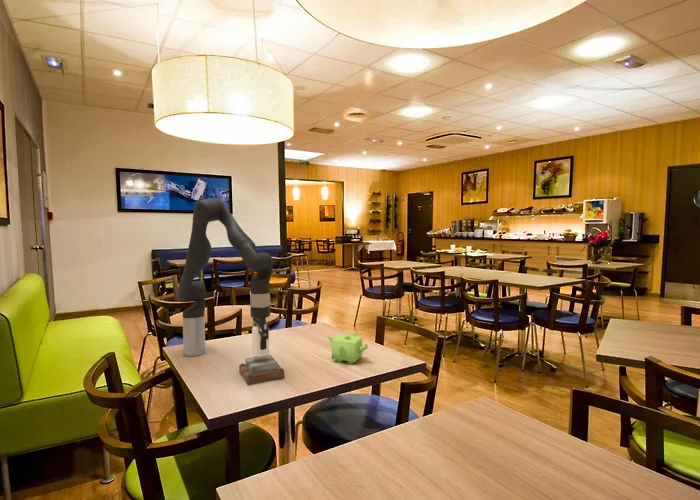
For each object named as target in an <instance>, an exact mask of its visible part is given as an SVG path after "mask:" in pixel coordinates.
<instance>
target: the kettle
mask: <svg viewBox="0 0 700 500" xmlns="http://www.w3.org/2000/svg"><path fill="white" fill-rule="evenodd" d="M356 334H357V333H356V332H353V333H352V334H351V335H350V334H339V335H338V336H336V337H335V338H333V336H331V335H325V336H326V338H328V339H329V342H330V347H331V359H332V360H336V363H341V362H342V361H344V362H347V364H349V365H353V364H354V363H356V362H357V361H358V360H359V359H360V358H362V356H363V352H364V351H366V350H367V349H369V345H368V344H367V343H365V344H363V337H361V336H356Z"/></svg>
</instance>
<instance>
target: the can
mask: <svg viewBox="0 0 700 500" xmlns="http://www.w3.org/2000/svg"><path fill="white" fill-rule="evenodd" d="M258 327H259V329H260V326H258ZM258 327H257V326H256V325H255V324H253V323H252V328H251V349H252V350H251V351H252V352H251V354H252V357H265V356H267V355H270V333H269V334H268V337H269V338H268V339H266V349H264V350H261V349H260V335H259V334H258ZM260 331H261V329H260ZM263 336H265V334H263Z"/></svg>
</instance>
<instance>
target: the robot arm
mask: <svg viewBox="0 0 700 500" xmlns="http://www.w3.org/2000/svg"><path fill="white" fill-rule="evenodd" d="M192 214H193V215H192V224H191V225H192V226H191V233H190V238H189V243H188V247H187V252H186V258H185V263H184V264H185V265H184V269H183V272H182V275H181V278H180V281H179V285H178V289H177V296H178V300H179V301H180V302H181V303H191V302H193V304H192V305H191V306H189V307H187V308H186V309H184V310H183V311H182V340H183V342H182V343H183V345H182V346H183V347H182V348H183V350H182V351H183V355H184V357H197V356H201V355H203V354H205V353H206V328H205V326H206V325H205V322H206V321H205V309H206V284H205V282H203V280H194V279H195V278H196V276H197V275H198V274H199V273H200V272H201V271H202V270H204V268H205V267H206V266H207V265H208V263H209V261H210V258H211V253H212V245H211V242H210V240H209V238H208V236H207V229H208V228H207V227H208V225H209V223H211V222H215V221H218V222H220V223H221V224H222V225H223V226H224V227H225V230H226V235H227V240H228V242H229V244H230V245H231V246H232V248H233V249H235V250H236V251H237V253H238V254H239V255H240V257H241V259H242V261H243V263H244V265H245V266H246V268H247V269H248V270H250V271H251V272H253V273H256V276H255V277H253V278H251V282H250V301H249V302H250V303H249V304H250V307H249V308H250V310H249V311H250V317H251V318H252V320H253V321H252V325H253V324H255V325H256V326H257V327H258V326H260V329H261V331H260V329H259V327H258V334H259V335H260V349H261V350H264V349H266V339H268V338H269V339H270V336H269V337H268V334H269V335H270V327H269V326H270V325H269V323H268V322H267V320H266V318H268V317H271V294H270V290H271V289H270V288H271V287H270V280H271V277H272V272H273V267H274V260H273V257H272V255H271V254H270V253H268V252H256V247H257V246H256V243H255V242H254V241H253V240H252V238H250V237H249V236H248V235H247V234H246V232H244V230H243V229H242V228H241V227H240V225H239V224H238V222H237V221H236V219H235V218H234V216H233V214H232V213H231V212H230V210H229V209H228V207H227V206H226V205H225V203H224V202H223V201H222V200H221V199H219V198H217V197H216V198H215V197H214V198H204V199H203V198H202V199H199V200H196V202H195V204H194V207H193V212H192ZM263 334H265V336H263Z"/></svg>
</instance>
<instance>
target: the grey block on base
mask: <svg viewBox="0 0 700 500" xmlns="http://www.w3.org/2000/svg"><path fill="white" fill-rule="evenodd" d="M238 367H239V368H238V371H239V372H238V373H239V374H240V376H241V377H242V379H243V381H244V382H245V384H246V385H247V386H252V385H258V384H262V383H263V384H264V383H267V382H273V381H277V380H283V379H285V370H284V368H282V367H281V365H279V364H278V361H277V360H276V359H275V358H274V357H273V356H272V355H271V354H268V355H267V356H265V357H254V356H252V357H247V358H245V363H240V364H239V365H238Z"/></svg>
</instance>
